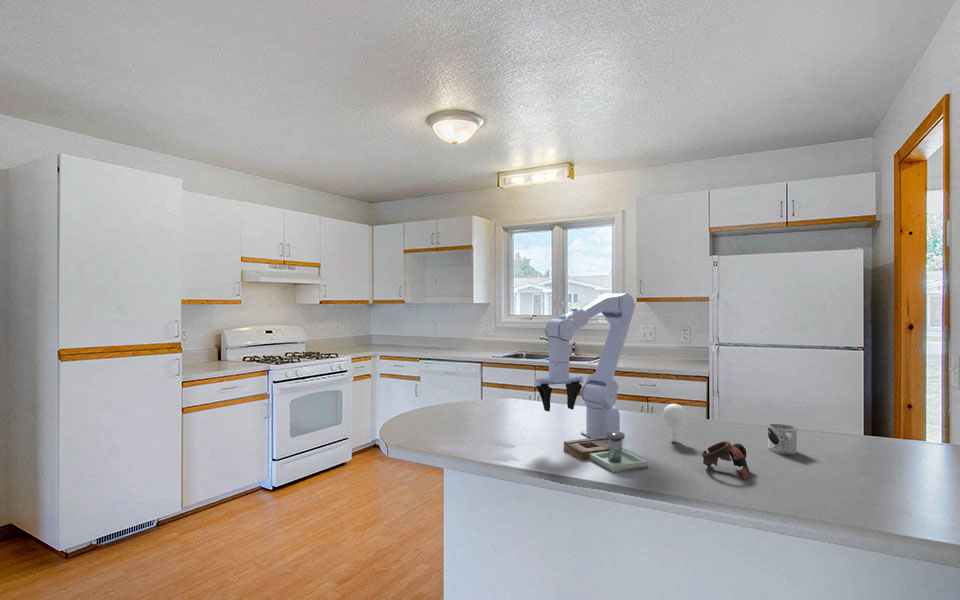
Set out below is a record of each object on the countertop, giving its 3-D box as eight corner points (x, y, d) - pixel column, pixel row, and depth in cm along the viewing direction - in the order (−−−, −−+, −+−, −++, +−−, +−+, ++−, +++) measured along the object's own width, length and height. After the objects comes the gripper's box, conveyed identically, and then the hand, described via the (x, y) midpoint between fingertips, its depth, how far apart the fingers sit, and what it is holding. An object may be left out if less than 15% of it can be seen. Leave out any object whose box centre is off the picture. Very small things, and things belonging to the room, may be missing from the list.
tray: (622, 455, 128) (622, 449, 128) (647, 467, 119) (647, 461, 119) (589, 459, 125) (589, 453, 125) (613, 472, 116) (613, 466, 116)
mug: (764, 446, 137) (764, 422, 137) (790, 448, 136) (790, 424, 136) (778, 457, 127) (778, 432, 127) (806, 459, 126) (806, 433, 126)
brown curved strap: (743, 486, 109) (722, 451, 111) (709, 491, 116) (689, 459, 118) (766, 462, 116) (746, 430, 118) (732, 468, 123) (714, 438, 125)
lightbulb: (662, 443, 139) (663, 405, 139) (663, 438, 145) (663, 401, 145) (686, 446, 137) (686, 407, 137) (685, 440, 143) (685, 402, 143)
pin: (613, 456, 126) (614, 430, 126) (627, 461, 122) (628, 434, 122) (602, 459, 123) (602, 432, 123) (616, 464, 120) (617, 437, 120)
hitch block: (594, 445, 137) (594, 437, 137) (614, 455, 128) (614, 446, 128) (563, 449, 133) (563, 441, 133) (581, 459, 125) (581, 450, 125)
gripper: (573, 359, 144) (573, 404, 144) (529, 361, 139) (529, 408, 139) (587, 361, 137) (586, 410, 137) (541, 364, 132) (541, 414, 132)
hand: (558, 409), depth 138 cm, fingers open, 7 cm apart
